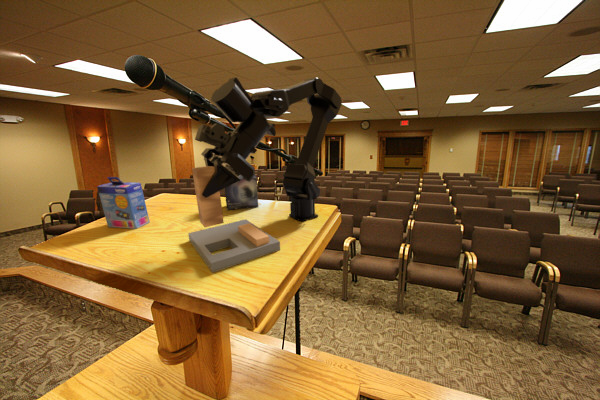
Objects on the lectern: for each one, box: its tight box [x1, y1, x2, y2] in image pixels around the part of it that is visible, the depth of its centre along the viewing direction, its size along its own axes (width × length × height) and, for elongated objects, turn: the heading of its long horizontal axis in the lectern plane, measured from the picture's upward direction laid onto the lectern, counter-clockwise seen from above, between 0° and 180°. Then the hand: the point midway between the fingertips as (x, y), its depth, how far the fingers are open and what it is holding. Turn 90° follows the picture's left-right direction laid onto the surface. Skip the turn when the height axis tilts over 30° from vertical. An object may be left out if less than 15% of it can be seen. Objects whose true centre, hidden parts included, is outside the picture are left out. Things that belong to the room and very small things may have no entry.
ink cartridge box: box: [96, 176, 150, 230], centre depth 74 cm, size 10×6×14 cm, turn 78°
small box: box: [224, 174, 259, 211], centre depth 88 cm, size 11×6×10 cm, turn 105°
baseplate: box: [188, 218, 281, 273], centre depth 60 cm, size 15×18×4 cm
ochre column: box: [191, 165, 225, 228], centre depth 56 cm, size 4×4×12 cm
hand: (201, 194), depth 55 cm, fingers closed on ochre column, 4 cm apart
